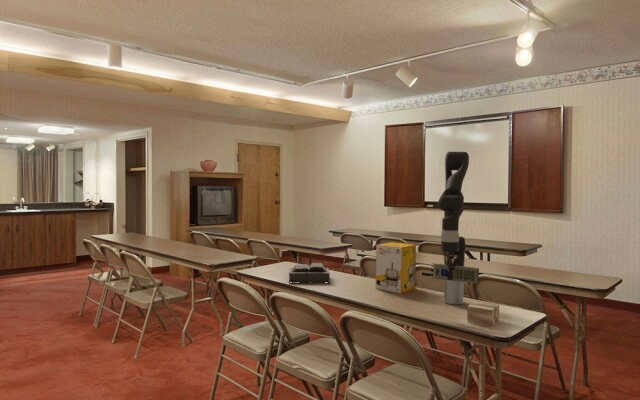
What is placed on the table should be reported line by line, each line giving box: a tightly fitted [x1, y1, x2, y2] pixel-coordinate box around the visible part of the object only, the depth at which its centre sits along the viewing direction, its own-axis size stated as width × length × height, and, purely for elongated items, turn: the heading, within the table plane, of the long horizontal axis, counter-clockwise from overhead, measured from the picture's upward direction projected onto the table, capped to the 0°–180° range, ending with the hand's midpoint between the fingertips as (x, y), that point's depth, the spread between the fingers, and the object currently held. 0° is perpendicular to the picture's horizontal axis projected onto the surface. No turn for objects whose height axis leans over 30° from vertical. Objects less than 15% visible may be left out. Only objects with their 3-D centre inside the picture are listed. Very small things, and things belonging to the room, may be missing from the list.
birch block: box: [466, 300, 500, 328], centre depth 194 cm, size 12×10×7 cm
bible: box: [288, 262, 331, 284], centre depth 274 cm, size 23×27×10 cm
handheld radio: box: [421, 262, 480, 285], centre depth 200 cm, size 7×3×25 cm
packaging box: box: [375, 241, 417, 294], centre depth 254 cm, size 16×16×25 cm
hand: (449, 278), depth 199 cm, fingers closed on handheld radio, 3 cm apart
